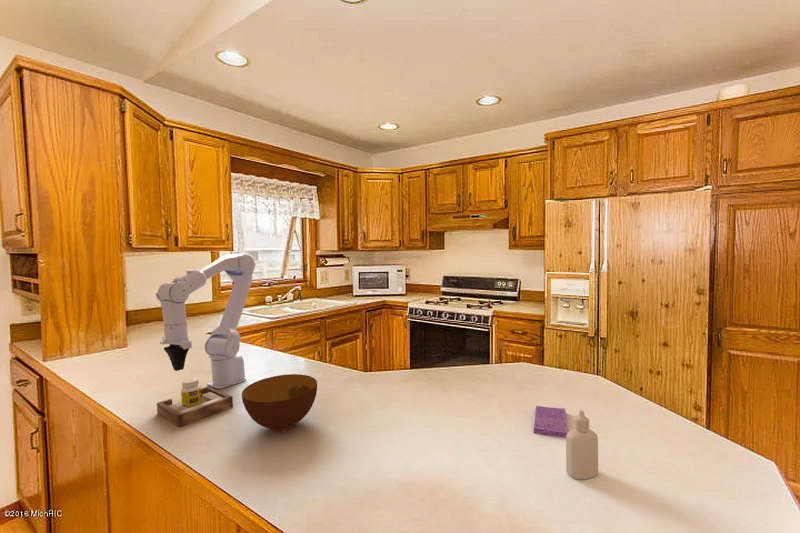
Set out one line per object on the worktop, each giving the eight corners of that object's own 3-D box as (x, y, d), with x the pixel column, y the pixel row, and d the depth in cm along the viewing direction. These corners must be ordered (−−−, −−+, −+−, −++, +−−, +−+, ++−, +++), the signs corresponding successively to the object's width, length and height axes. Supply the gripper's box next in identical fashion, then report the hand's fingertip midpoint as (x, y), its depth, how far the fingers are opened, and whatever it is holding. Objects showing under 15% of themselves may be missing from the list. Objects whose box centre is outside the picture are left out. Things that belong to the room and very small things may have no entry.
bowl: (248, 454, 80) (245, 408, 79) (241, 420, 96) (238, 383, 95) (327, 432, 88) (325, 391, 87) (309, 404, 104) (307, 369, 103)
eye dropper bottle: (564, 465, 72) (563, 404, 71) (596, 468, 70) (595, 407, 69) (567, 479, 67) (567, 415, 67) (601, 483, 66) (601, 417, 65)
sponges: (533, 435, 84) (533, 427, 84) (535, 411, 96) (535, 404, 95) (567, 440, 81) (567, 432, 81) (565, 415, 93) (565, 408, 93)
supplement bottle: (190, 414, 100) (188, 384, 100) (178, 412, 102) (176, 382, 102) (205, 407, 105) (203, 378, 104) (194, 404, 107) (191, 376, 106)
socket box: (209, 395, 113) (208, 386, 113) (232, 406, 104) (232, 396, 104) (157, 413, 102) (156, 403, 102) (179, 427, 93) (178, 415, 93)
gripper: (149, 323, 108) (153, 369, 109) (170, 329, 100) (174, 378, 100) (175, 319, 114) (179, 362, 115) (197, 324, 105) (201, 370, 106)
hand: (178, 369), depth 108 cm, fingers closed
